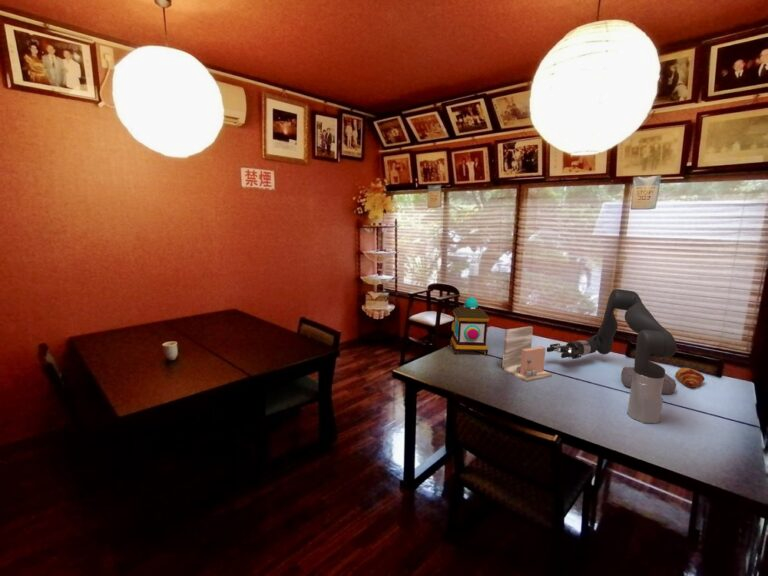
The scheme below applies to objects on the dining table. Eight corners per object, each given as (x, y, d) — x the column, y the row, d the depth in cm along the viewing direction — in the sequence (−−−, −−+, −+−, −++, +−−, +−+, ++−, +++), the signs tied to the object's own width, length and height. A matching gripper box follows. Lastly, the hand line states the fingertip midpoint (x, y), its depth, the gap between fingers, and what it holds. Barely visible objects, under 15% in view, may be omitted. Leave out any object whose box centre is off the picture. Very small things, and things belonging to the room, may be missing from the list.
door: (544, 372, 175) (547, 348, 173) (525, 376, 170) (527, 351, 168) (539, 370, 178) (541, 346, 176) (519, 373, 173) (522, 349, 171)
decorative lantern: (490, 357, 197) (495, 301, 191) (453, 356, 197) (456, 300, 191) (481, 344, 216) (485, 293, 211) (447, 343, 217) (450, 293, 211)
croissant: (677, 379, 182) (670, 363, 183) (702, 374, 176) (695, 358, 177) (682, 395, 164) (674, 377, 165) (710, 390, 159) (701, 372, 160)
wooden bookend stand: (551, 376, 173) (556, 335, 170) (525, 382, 167) (529, 339, 163) (527, 364, 187) (530, 326, 184) (502, 369, 181) (505, 329, 177)
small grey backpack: (623, 389, 162) (679, 399, 154) (625, 371, 160) (683, 380, 152) (618, 376, 175) (670, 385, 167) (620, 359, 174) (673, 367, 166)
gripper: (566, 337, 191) (543, 340, 184) (592, 345, 178) (567, 350, 172) (565, 350, 192) (542, 355, 186) (590, 360, 180) (566, 365, 173)
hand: (554, 352), depth 179 cm, fingers open, 8 cm apart
